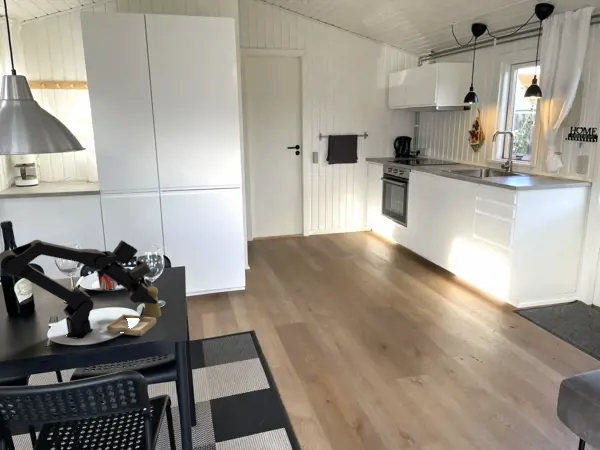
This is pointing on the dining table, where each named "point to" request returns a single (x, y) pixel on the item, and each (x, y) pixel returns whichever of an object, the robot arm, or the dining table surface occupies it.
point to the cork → (152, 309)
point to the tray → (139, 330)
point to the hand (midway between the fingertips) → (155, 297)
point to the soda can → (106, 283)
